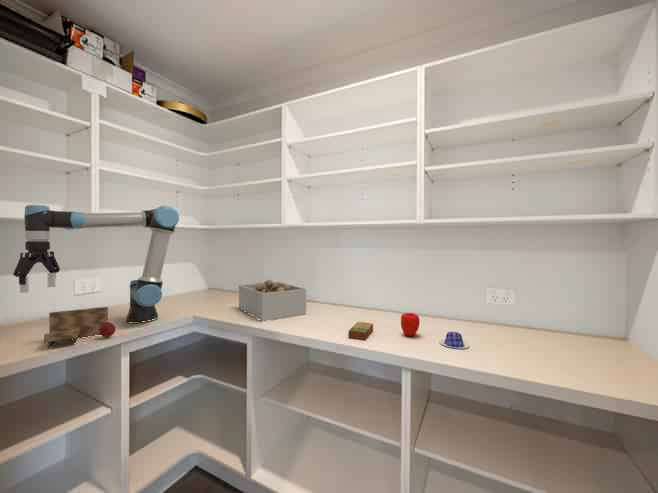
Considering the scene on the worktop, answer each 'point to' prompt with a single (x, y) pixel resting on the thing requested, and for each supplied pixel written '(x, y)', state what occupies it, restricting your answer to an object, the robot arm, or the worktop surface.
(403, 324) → the red rounded piece
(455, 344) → the blue plaid bucket hat
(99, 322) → the wallboard
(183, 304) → the worktop surface
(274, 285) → the lumpy brown heap
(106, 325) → the onion
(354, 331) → the carton
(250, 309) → the storage crate
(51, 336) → the cleat shelf
